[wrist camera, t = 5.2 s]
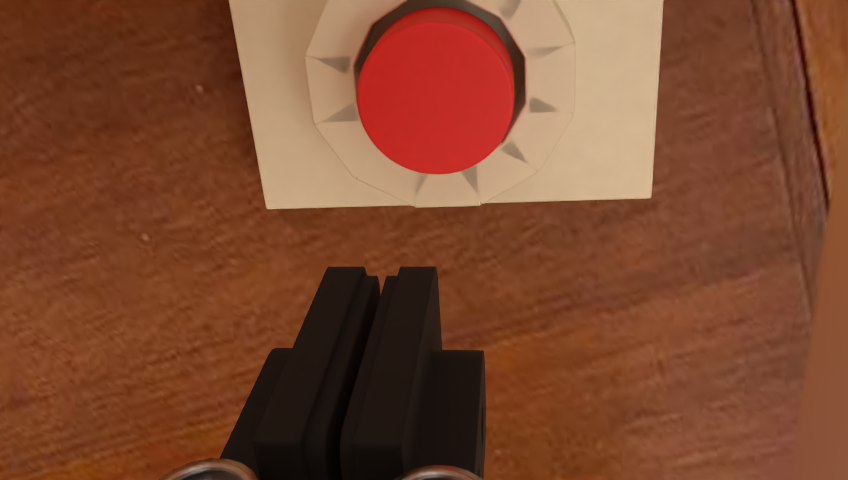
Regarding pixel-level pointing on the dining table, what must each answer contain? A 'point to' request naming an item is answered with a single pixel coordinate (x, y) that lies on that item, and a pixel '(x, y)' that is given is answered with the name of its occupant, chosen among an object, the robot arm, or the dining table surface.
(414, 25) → the light button
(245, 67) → the switch block
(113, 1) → the dining table surface
